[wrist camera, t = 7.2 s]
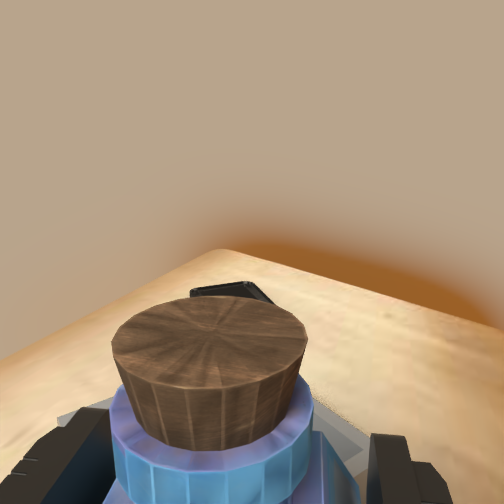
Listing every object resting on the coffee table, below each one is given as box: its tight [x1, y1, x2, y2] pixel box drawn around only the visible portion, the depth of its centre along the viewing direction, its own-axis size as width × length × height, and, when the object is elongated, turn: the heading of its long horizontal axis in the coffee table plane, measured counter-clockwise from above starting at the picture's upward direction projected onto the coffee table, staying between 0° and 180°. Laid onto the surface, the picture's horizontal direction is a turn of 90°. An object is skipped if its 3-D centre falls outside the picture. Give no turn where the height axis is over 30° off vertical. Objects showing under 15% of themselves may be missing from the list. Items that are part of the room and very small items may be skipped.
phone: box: [190, 281, 275, 305], centre depth 46 cm, size 8×1×15 cm
